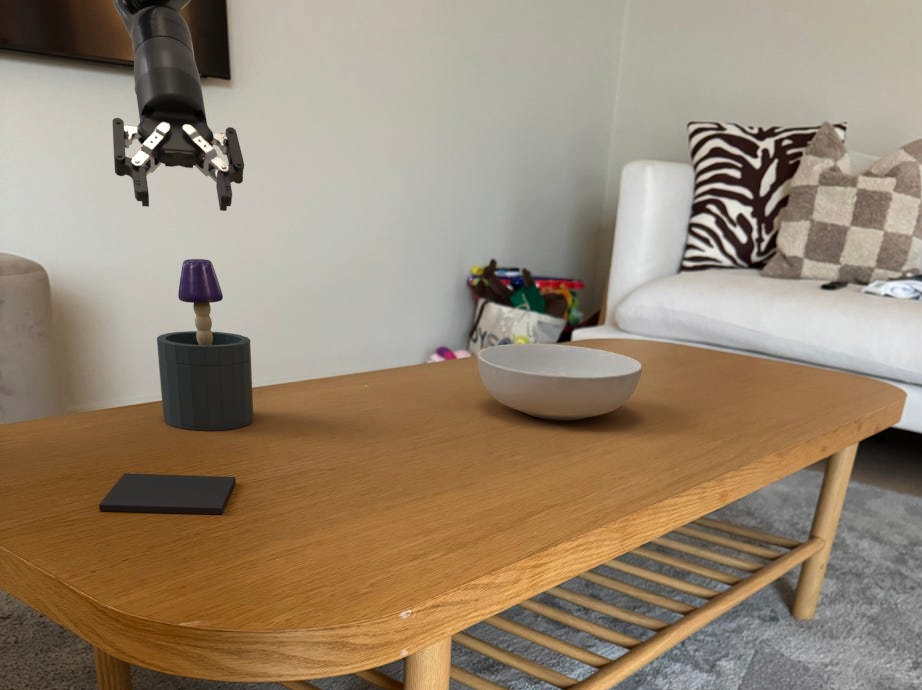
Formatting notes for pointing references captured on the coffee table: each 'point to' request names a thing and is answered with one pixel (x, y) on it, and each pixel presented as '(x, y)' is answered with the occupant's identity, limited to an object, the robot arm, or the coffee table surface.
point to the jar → (205, 381)
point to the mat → (169, 494)
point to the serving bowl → (558, 379)
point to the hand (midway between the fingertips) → (185, 203)
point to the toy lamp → (200, 294)
